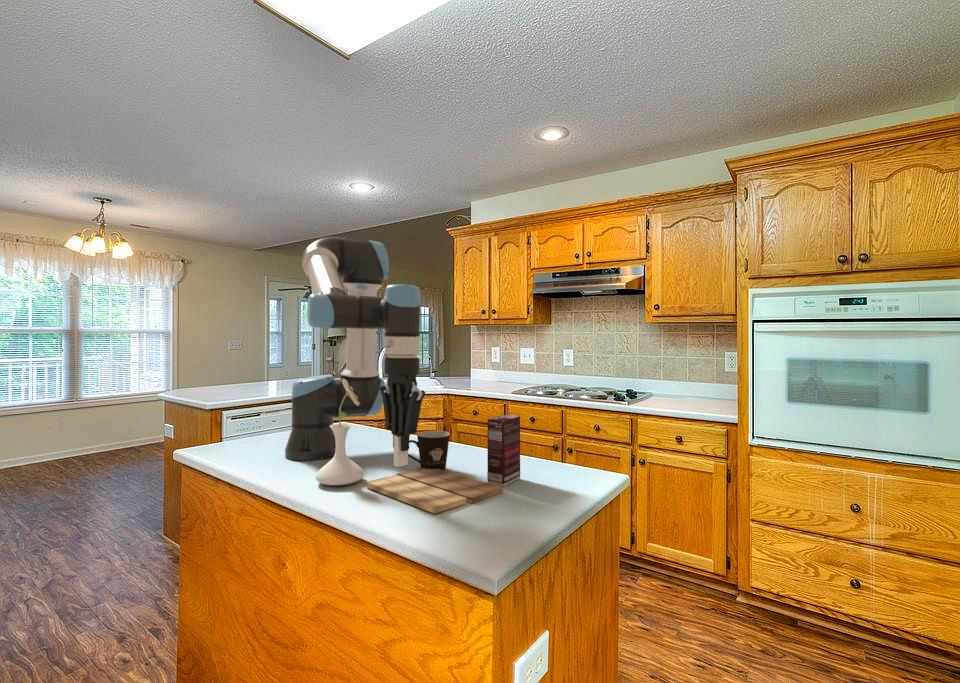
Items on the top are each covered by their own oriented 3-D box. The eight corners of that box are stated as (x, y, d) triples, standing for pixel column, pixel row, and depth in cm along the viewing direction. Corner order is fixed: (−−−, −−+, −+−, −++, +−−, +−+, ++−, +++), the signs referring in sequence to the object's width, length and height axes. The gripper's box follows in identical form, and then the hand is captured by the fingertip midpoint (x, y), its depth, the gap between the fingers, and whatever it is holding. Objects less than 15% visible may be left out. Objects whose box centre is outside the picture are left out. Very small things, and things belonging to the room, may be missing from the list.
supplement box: (504, 475, 121) (505, 413, 120) (520, 479, 118) (521, 415, 118) (485, 484, 113) (486, 418, 113) (502, 487, 111) (503, 420, 111)
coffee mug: (451, 467, 129) (452, 431, 129) (446, 477, 120) (446, 438, 120) (410, 466, 130) (410, 430, 130) (402, 475, 121) (402, 436, 121)
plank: (365, 486, 109) (365, 481, 109) (396, 479, 116) (396, 474, 116) (434, 513, 93) (434, 507, 93) (466, 503, 100) (466, 497, 100)
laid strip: (395, 478, 117) (395, 473, 117) (427, 470, 125) (427, 465, 125) (471, 504, 99) (471, 498, 99) (502, 492, 107) (502, 487, 107)
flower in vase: (359, 489, 108) (360, 381, 108) (308, 490, 108) (309, 381, 107) (369, 473, 121) (370, 376, 121) (324, 473, 121) (325, 376, 120)
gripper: (370, 355, 103) (368, 462, 104) (407, 358, 95) (406, 474, 95) (397, 354, 109) (396, 456, 109) (435, 357, 100) (433, 467, 100)
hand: (400, 464), depth 102 cm, fingers closed
